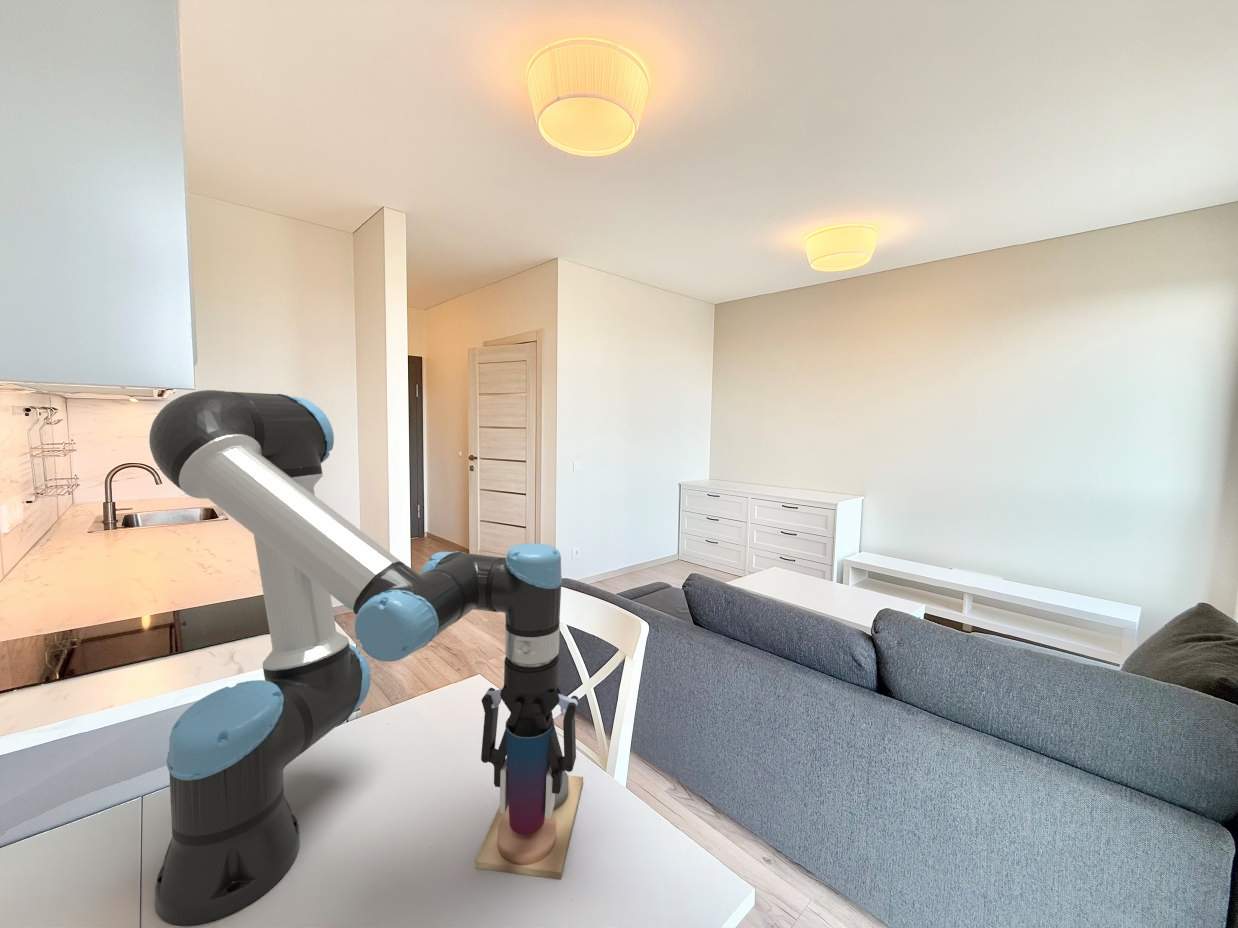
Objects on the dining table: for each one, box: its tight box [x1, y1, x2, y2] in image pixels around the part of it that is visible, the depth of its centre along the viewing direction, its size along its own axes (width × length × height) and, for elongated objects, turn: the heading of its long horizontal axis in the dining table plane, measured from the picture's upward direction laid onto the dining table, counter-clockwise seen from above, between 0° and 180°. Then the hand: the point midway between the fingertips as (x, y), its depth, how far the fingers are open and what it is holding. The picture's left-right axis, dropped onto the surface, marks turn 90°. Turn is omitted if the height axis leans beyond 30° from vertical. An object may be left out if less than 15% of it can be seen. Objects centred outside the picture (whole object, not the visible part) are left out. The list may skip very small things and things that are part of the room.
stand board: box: [474, 771, 584, 880], centre depth 76 cm, size 12×18×3 cm, turn 175°
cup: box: [505, 717, 555, 835], centre depth 70 cm, size 7×7×15 cm
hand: (527, 807), depth 71 cm, fingers closed on cup, 6 cm apart
